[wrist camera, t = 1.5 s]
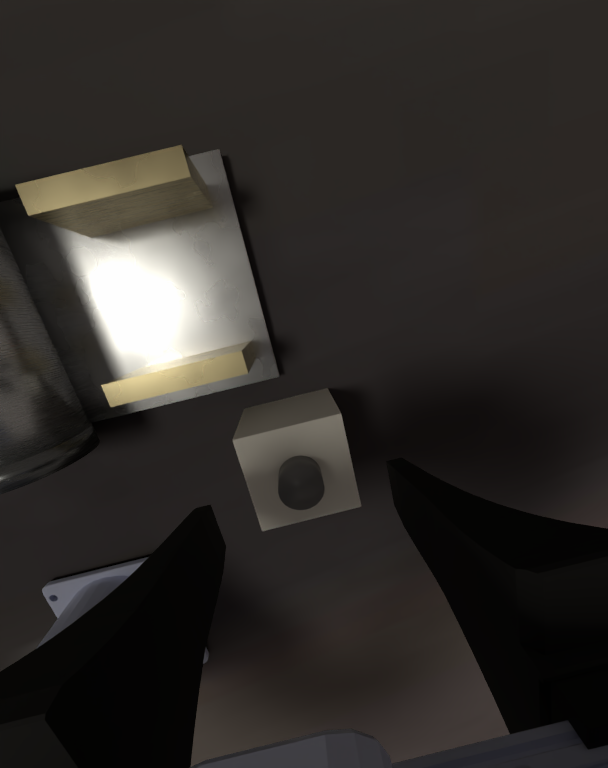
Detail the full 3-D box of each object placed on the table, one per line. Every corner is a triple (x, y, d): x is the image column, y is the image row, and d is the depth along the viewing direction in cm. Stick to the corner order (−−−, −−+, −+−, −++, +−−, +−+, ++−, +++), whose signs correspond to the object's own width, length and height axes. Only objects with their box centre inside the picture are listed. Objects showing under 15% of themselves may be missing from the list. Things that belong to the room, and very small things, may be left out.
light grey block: (343, 461, 19) (368, 523, 14) (266, 480, 19) (260, 550, 14) (327, 387, 18) (346, 423, 12) (244, 408, 18) (227, 452, 12)
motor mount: (283, 387, 17) (283, 424, 12) (28, 449, 17) (-90, 516, 12) (216, 136, 14) (174, 28, 9) (-97, 211, 14) (-340, 151, 9)
